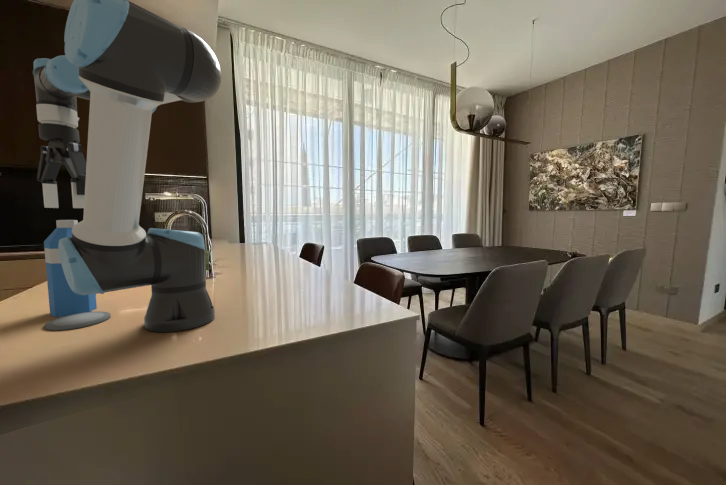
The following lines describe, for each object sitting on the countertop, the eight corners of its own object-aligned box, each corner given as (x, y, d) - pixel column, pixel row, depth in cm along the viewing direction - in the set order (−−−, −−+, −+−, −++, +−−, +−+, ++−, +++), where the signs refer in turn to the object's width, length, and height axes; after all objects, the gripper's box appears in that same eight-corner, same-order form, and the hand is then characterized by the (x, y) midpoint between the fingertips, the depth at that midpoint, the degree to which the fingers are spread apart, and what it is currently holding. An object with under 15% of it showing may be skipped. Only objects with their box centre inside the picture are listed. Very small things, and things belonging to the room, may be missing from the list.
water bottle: (105, 306, 88) (99, 220, 86) (71, 317, 79) (64, 220, 77) (76, 305, 89) (69, 219, 87) (39, 316, 80) (31, 220, 78)
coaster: (121, 317, 80) (121, 314, 80) (62, 333, 69) (61, 330, 68) (93, 311, 84) (93, 308, 84) (34, 326, 73) (33, 323, 73)
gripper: (105, 125, 78) (110, 208, 80) (51, 133, 88) (57, 207, 90) (67, 116, 72) (74, 207, 74) (14, 126, 81) (22, 207, 83)
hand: (65, 208), depth 82 cm, fingers open, 13 cm apart
